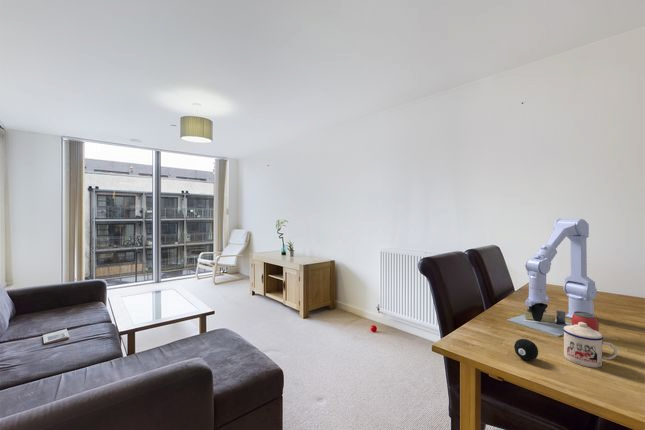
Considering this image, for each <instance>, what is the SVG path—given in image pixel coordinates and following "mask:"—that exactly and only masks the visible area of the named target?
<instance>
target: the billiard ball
mask: <svg viewBox="0 0 645 430" xmlns="http://www.w3.org/2000/svg"><path fill="white" fill-rule="evenodd" d="M513 349H514V351H515V354H516V355H517V356H518V357H520V358H521V359H522V360H524V361H534V360H535V359H537V357H538V356H539V348H538V346H537V345H536V344H535V342H534V341H532V340H530V339H527V338H520V339H517V340H516V341H515V342H514V347H513Z"/></svg>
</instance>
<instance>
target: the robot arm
mask: <svg viewBox="0 0 645 430" xmlns="http://www.w3.org/2000/svg"><path fill="white" fill-rule="evenodd" d="M552 225H553V226H552V228H553V231H552V232H551V233H552V234H551V236H550V237H549V239H548V241H547V242H546V244H542V245H541V246H540V248H539V249H538V250H537V251H536V253H535V254H534V256H533V257H532V258H529V259H527V261H526V262H525V264H524V266H525V269H526V273H527V276H528V297H527V298H526V300H525V301H524V302H525V303H524V304H525V306H526V307H528V308H530V310H531V312H532V316H533V319H534V321H538V322H541V320H542V317H543V314H544V311H545V310H547V308H548V305H549V304H550V303H551V302H550V297H549V296H547V274H548V273H549V272H550V271H551V266H552V261H553V259H554V258H555V257H556V255H557V254H558V251H557V248H558V247H559V246H560V244H561V243H562V242H563V241H564V240H565V239H566V238H567V239H569V240H570V275H568V276H566V277H565V278H564V282H563V286H562V287H563V288H562V289H563V291H564V294H566V296H567V297H568V313H567V314H565V318H570V319H572V316H573V314H574V312H576V311H579V312H587V313H591V314H594V310H595V309H594V306H595V305H594V301H593V300H594V299H595V298H596V297H597V296H598V295H597V294H598V290H597V286H596V282H595V281H594V280H593V279H592V278H591V277H589V276H588V270H587V269H588V268H587V267H588V263H587V261H588V260H587V259H588V256H587V255H588V254H587V253H588V252H587V239H588V238H589V235H590V232H589V229H590V228H589V227H590V226H589V225H590V224H589V223H588V222H587V221H586V220H585V219H583V218H580V219H579V218H575V219H574V218H556V219H555V221H554V224H552ZM594 315H595V314H594Z"/></svg>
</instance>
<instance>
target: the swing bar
mask: <svg viewBox="0 0 645 430" xmlns="http://www.w3.org/2000/svg"><path fill="white" fill-rule="evenodd" d="M524 314H525V318H526V319H533V316H532V312H531V310H530V308H529V307H526V309H524ZM555 319H556V315H555V313H550V312H546V313H544V314H543V317H542V320H541V321H546V322H552V323H555ZM533 320H534V319H533Z"/></svg>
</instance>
